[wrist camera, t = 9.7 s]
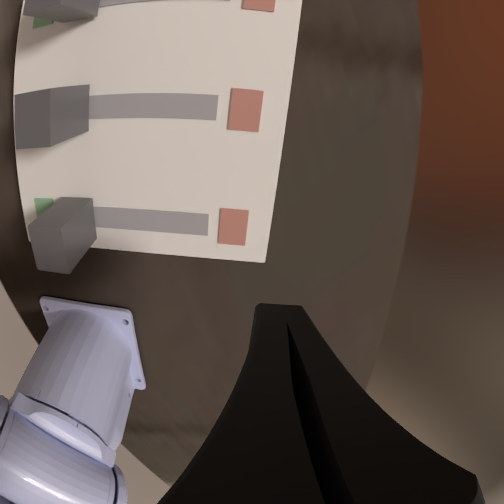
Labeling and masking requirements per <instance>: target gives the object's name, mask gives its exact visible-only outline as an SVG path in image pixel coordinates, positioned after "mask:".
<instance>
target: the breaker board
mask: <svg viewBox="0 0 504 504" xmlns="http://www.w3.org/2000/svg"><path fill="white" fill-rule="evenodd" d="M301 5H302V0H24V1H23V6H22V11H21V17H20V23H19V30H18V38H17V47H16V58H15V72H14V95H17V94H21V93H26V92H32V91H37V90H43V89H49V88H57V87H66V86H76V85H87V84H90V90H89V131H88V132H85V133H83V134H80V135H78V136H75V137H73V138H70V139H68V140H66V141H63V142H61V143H59V144H56V145H54V146H52V147H42V148H29V149H17V150H16V140H15V152H16V163H17V173H18V181H19V188H20V195H21V202H22V208H23V214H24V219H25V224H26V229H27V234H28V239H29V241H30V242H31V245H32V249H33V254H34V258H35V262H36V266H37V269H38V270H42V271H49V272H56V273H63V274H70V273H71V272H72V270H73V269H74V268H75V266H76V265H77V264H78V262H79V261H80V260H81V258H82V257H83V256H84V254H85V253H86V252H87V251H88V249H89V248H90V247H91V248H102V249H113V250H124V251H135V252H146V253H157V254H168V255H180V256H191V257H203V258H214V259H226V260H238V261H250V262H263V263H265V258H266V252H267V246H268V239H269V233H270V226H271V220H272V213H273V207H274V200H275V193H276V187H277V180H278V173H279V166H280V160H281V153H282V146H283V139H284V132H285V125H286V118H287V111H288V103H289V96H290V89H291V82H292V74H293V67H294V59H295V52H296V44H297V37H298V29H299V21H300V13H301ZM14 137H15V113H14Z"/></svg>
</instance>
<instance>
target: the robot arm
mask: <svg viewBox="0 0 504 504" xmlns="http://www.w3.org/2000/svg"><path fill="white" fill-rule="evenodd" d="M40 305H41V308H42V311H43V313H44V316H45V319H46V322H47V324H48V327H49V329H48V331H47V332H46V334H45V336H44V337H43V339H42V341H41V343H40V345H39V346H38V348H37V350H36V352H35V354H34V355H33V357H32V359H31V361H30V363H29V365H28V367H27V369H26V370H25V372H24V374H23V376H22V378H21V380H20V382H19V384H18V386H17V388H16V390H15V392H14V394H13V396H12V397H11V398H10V399H9V400H8V399H7V398H5V397H4V396H2V395H0V504H127V500H128V495H127V494H128V492H127V486H126V483H125V478H124V475H123V473H122V471H121V470H120V468H119V467H118V466H117V465H115V464H114V462H115V457H116V452H115V450H116V448H117V447H118V446H119V445H120V443H121V440H122V437H123V433H124V429H125V424H126V420H127V416H128V412H129V408H130V404H131V400H132V396H133V392H134V389H140V390H143V389H145V387H146V383H145V378H144V374H143V369H142V365H141V360H140V355H139V350H138V345H137V340H136V334H135V328H134V323H133V317H132V313H131V312H130V311H129V310H128V309H124V308H117V307H110V306H103V305H96V304H89V303H83V302H77V301H70V300H64V299H59V298H53V297H47V296H42V297H41V298H40ZM125 320H127V321H125ZM157 504H485V500H484V497H483V494H482V491H481V488H480V485H479V483H478V480H477V477H476V475H475V474H473V473H471V472H469V471H467V470H465V469H464V468H462V467H460V466H458V465H456V464H454V463H453V462H451V461H449V460H447V459H446V458H444V457H442V456H441V455H439V454H437V453H436V452H435V451H433V450H432V449H431V448H429V447H428V446H426V445H425V444H423V443H422V442H420V441H419V440H418V439H417V438H415V437H414V436H413V435H412V434H410V433H409V432H408V431H406V430H405V429H404V428H403V427H402V426H401V425H399V424H398V423H397V422H396V421H394V420H393V419H392V418H391V417H390V416H389V415H388V414H387V413H386V412H385V411H384V410H382V408H381V407H380V406H379V405H378V404H377V403H376V402H375V401H374V400H373V399H372V398H371V397H370V396H369V395H368V394H367V393H366V392H365V391H364V390H363V388H362V387H361V386H360V385H359V384H358V383H357V382H356V380H355V379H354V378H353V377H352V376H351V374H350V373H349V372H348V371H347V369H346V368H345V367H344V366H343V364H342V363H341V362H340V360H339V359H338V358H337V356H336V355H335V354H334V352H333V351H332V350H331V348H330V347H329V346H328V344H327V343H326V341H325V340H324V338H323V337H322V336H321V334H320V333H319V331H318V330H317V328H316V327H315V325H314V324H313V322H312V321H311V319H310V318H309V316H308V314H307V313H306V311H305V310H304V308H303V307H302V306H297V305H279V304H264V303H260V304H258V305H257V306H256V307H255V314H254V320H253V326H252V333H251V339H250V345H249V351H248V354H247V357H246V360H245V363H244V365H243V368H242V370H241V373H240V375H239V378H238V380H237V382H236V385H235V387H234V389H233V391H232V393H231V395H230V397H229V399H228V401H227V403H226V405H225V407H224V409H223V411H222V413H221V415H220V416H219V418H218V420H217V422H216V423H215V425H214V427H213V429H212V430H211V432H210V434H209V435H208V437H207V438H206V440H205V442H204V443H203V445H202V446H201V448H200V449H199V451H198V452H197V453H196V455H195V456H194V458H193V459H192V460H191V462H190V463H189V465H188V466H187V468H186V469H185V470H184V472H183V473H182V474H181V476H180V477H179V478H178V480H177V481H176V482H175V483H174V484H173V486H172V487H171V488H170V489H169V490H168V492H167V493H166V494H165V495H164V496H163V497H162V499H161V500H160V501H159V502H158V503H157Z"/></svg>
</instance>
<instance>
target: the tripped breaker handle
mask: <svg viewBox="0 0 504 504" xmlns="http://www.w3.org/2000/svg"><path fill="white" fill-rule="evenodd" d="M89 90H90V84H87V85H76V86H66V87H57V88H49V89H43V90H37V91H32V92H26V93H21V94H17V95H14V113H15V140H16V150H17V149H29V148H42V147H52V146H54V145H56V144H59V143H61V142H63V141H66V140H68V139H70V138H73V137H75V136H78V135H80V134H83V133H85V132H88V131H89Z"/></svg>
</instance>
